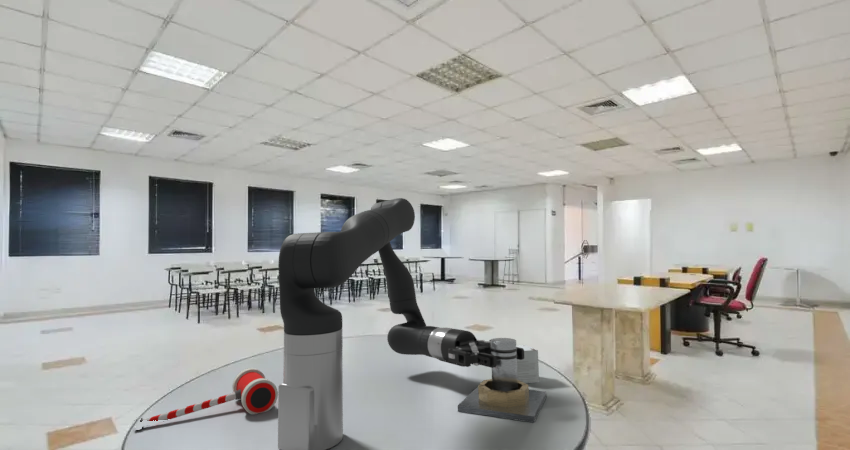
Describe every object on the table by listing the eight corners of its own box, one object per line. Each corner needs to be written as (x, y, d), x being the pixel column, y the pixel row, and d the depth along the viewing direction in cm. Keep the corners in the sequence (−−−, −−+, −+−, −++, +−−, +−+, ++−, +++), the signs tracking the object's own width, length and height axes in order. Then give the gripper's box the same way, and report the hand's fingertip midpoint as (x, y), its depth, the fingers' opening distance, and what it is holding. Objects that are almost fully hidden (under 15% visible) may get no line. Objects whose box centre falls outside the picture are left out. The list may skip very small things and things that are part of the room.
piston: (515, 403, 74) (513, 344, 75) (488, 400, 76) (486, 342, 77) (521, 394, 79) (519, 338, 79) (495, 391, 81) (494, 337, 82)
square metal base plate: (534, 422, 68) (533, 401, 68) (457, 411, 73) (457, 391, 74) (546, 396, 80) (545, 378, 80) (480, 388, 86) (479, 372, 86)
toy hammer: (132, 444, 64) (134, 403, 64) (134, 421, 73) (136, 386, 74) (278, 411, 77) (278, 377, 77) (263, 395, 86) (264, 365, 87)
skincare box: (504, 377, 94) (503, 345, 95) (527, 375, 96) (526, 344, 96) (515, 384, 89) (514, 351, 89) (540, 382, 90) (538, 349, 90)
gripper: (427, 332, 84) (484, 343, 72) (473, 324, 93) (530, 333, 81) (428, 368, 84) (485, 386, 71) (474, 357, 93) (532, 370, 80)
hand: (509, 358), depth 76 cm, fingers open, 8 cm apart
